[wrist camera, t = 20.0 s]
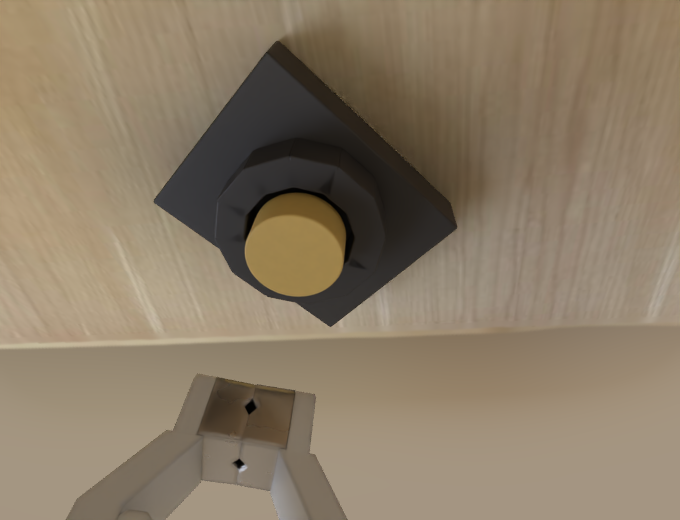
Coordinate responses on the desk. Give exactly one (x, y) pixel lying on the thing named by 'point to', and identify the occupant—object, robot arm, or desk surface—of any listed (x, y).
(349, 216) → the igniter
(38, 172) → the desk surface
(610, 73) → the desk surface
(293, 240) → the button
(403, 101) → the desk surface
